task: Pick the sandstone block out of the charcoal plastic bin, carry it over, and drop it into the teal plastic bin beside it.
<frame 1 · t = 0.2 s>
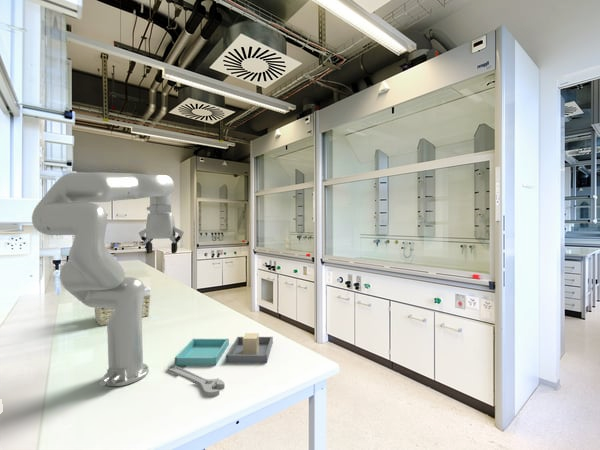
hand: (161, 253, 119), 37 cm above the lab bench, tool pointing down, fingers open, 9 cm apart
teal bin: (203, 355, 109), on the lab bench
sandstone block: (251, 351, 111), point 1 cm above the lab bench, touching charcoal bin
charcoal bin: (251, 353, 111), on the lab bench
adjustable wrench: (196, 381, 94), on the lab bench
storage basket: (123, 318, 152), on the lab bench
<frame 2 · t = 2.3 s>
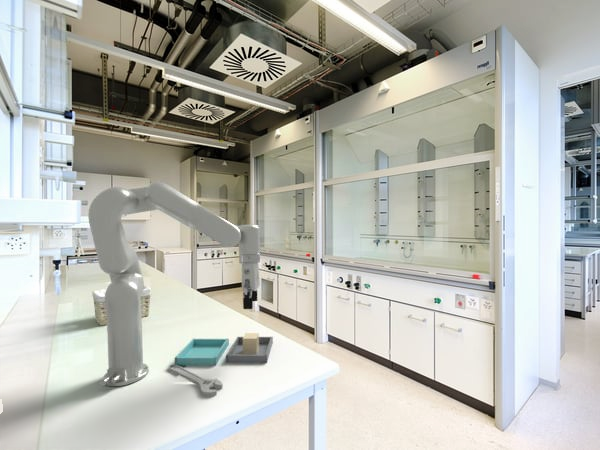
hand: (250, 304, 110), 18 cm above the lab bench, tool pointing down, fingers open, 9 cm apart
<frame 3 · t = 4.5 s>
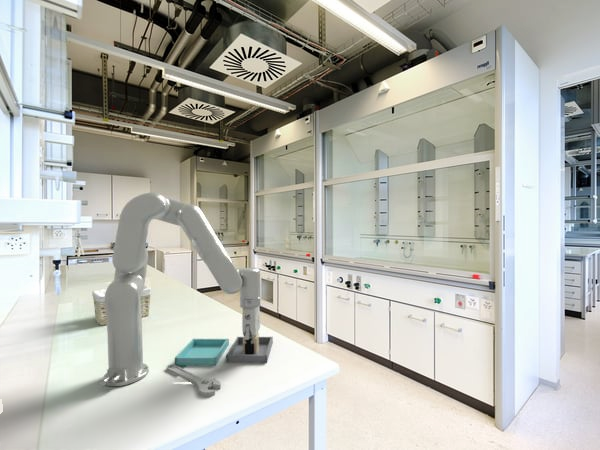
hand: (251, 350, 111), 1 cm above the lab bench, tool pointing down, fingers closed on sandstone block, 5 cm apart
sandstone block: (251, 351, 111), point 1 cm above the lab bench, touching charcoal bin, gripper
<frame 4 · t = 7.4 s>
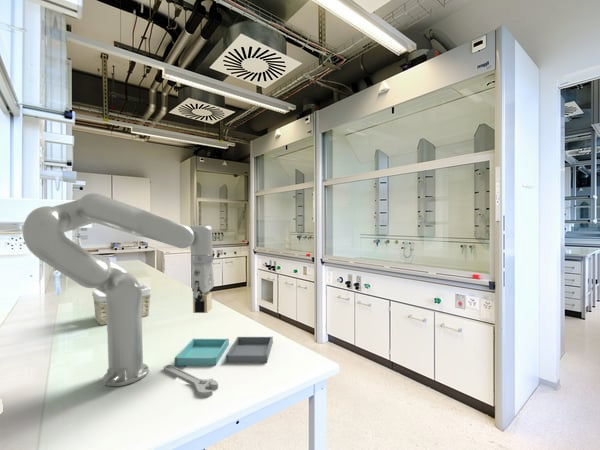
hand: (202, 309, 109), 17 cm above the lab bench, tool pointing down, fingers closed on sandstone block, 5 cm apart
sandstone block: (202, 310, 109), point 17 cm above the lab bench, touching gripper
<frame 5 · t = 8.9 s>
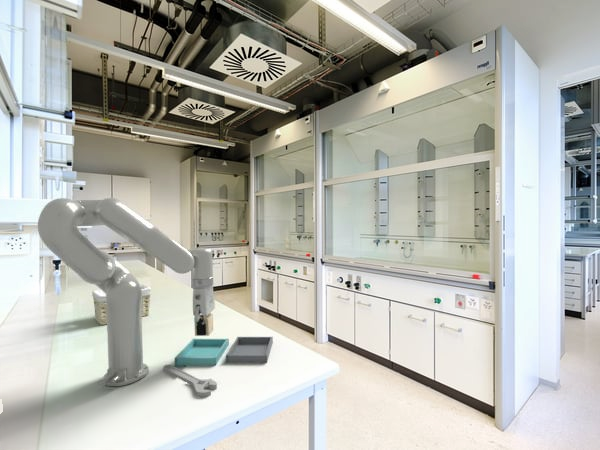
hand: (204, 331, 109), 9 cm above the lab bench, tool pointing down, fingers closed on sandstone block, 5 cm apart
sandstone block: (204, 332, 109), point 8 cm above the lab bench, touching gripper
when the fingers open (4 cm above the lab bench, at t = 10.3 s): sandstone block drops 3 cm, resting on teal bin.
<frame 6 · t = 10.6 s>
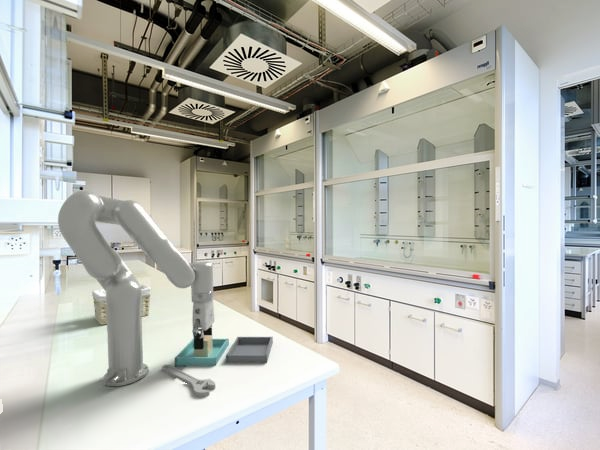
hand: (203, 343, 109), 5 cm above the lab bench, tool pointing down, fingers open, 8 cm apart
sandstone block: (203, 354, 109), point 1 cm above the lab bench, touching teal bin
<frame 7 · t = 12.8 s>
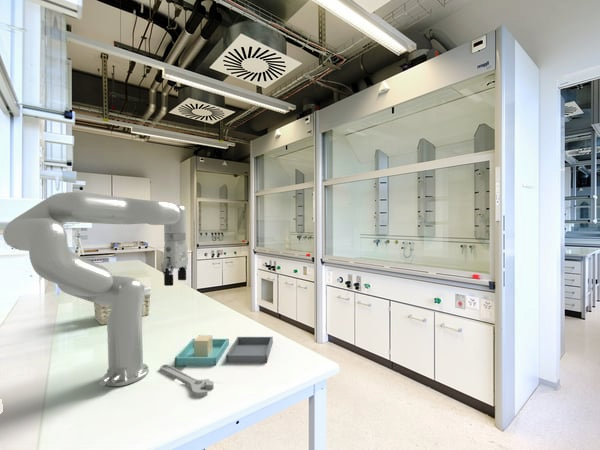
hand: (175, 282, 114), 26 cm above the lab bench, tool pointing down, fingers open, 9 cm apart
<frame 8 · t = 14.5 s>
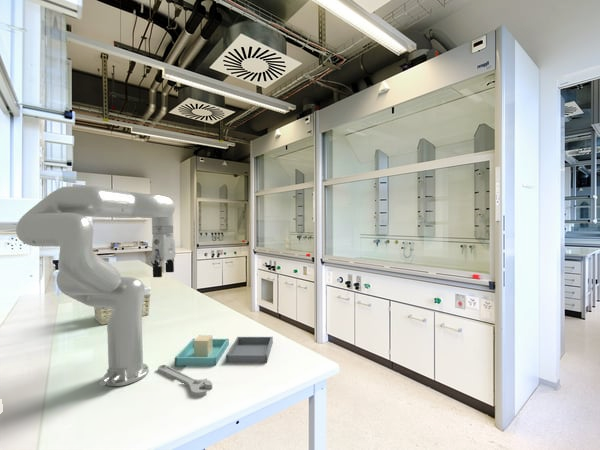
hand: (163, 274, 117), 28 cm above the lab bench, tool pointing down, fingers open, 9 cm apart
at the end: sandstone block inside the target area on the teal bin (0.1 cm from its centre), point 0.6 cm above the teal bin's base; sandstone block tilted 0°; the gripper is holding nothing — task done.
